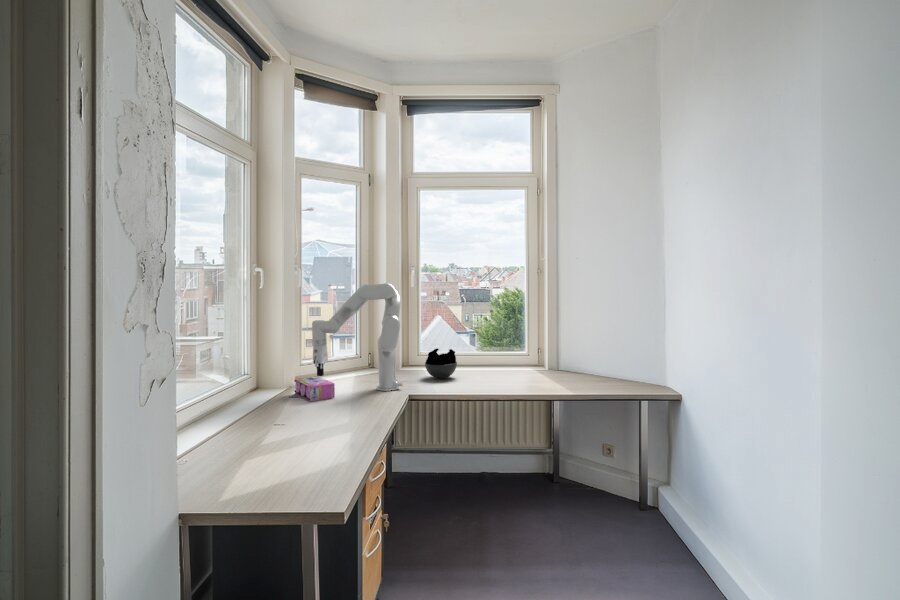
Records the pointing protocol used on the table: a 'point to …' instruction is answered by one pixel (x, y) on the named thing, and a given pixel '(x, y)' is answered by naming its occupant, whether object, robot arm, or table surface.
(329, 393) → the pink multipack carton
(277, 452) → the table surface
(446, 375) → the bowl of black rocks
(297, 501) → the table surface
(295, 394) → the charcoal mat
